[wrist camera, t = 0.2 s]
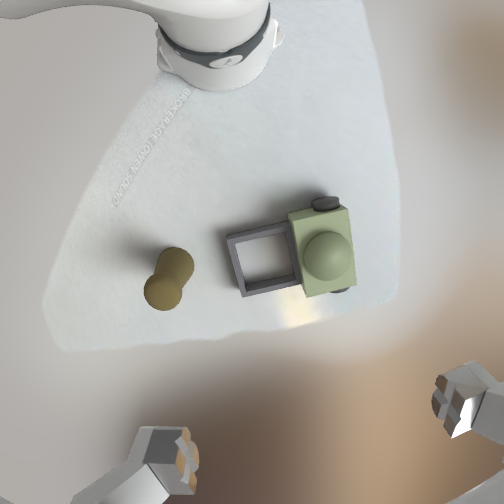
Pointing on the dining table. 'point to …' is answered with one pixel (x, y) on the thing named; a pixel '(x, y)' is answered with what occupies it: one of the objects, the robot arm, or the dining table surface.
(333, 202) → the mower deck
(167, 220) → the dining table surface
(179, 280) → the brown knobbed peg
